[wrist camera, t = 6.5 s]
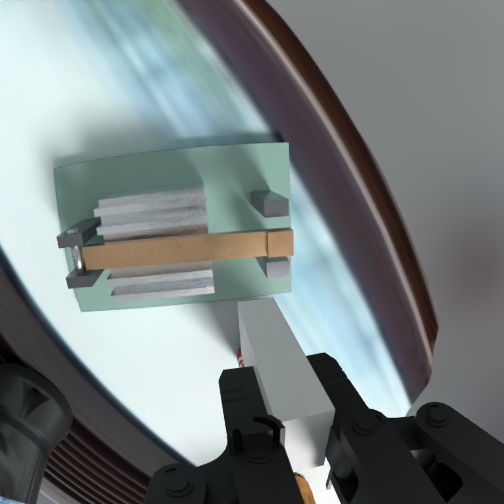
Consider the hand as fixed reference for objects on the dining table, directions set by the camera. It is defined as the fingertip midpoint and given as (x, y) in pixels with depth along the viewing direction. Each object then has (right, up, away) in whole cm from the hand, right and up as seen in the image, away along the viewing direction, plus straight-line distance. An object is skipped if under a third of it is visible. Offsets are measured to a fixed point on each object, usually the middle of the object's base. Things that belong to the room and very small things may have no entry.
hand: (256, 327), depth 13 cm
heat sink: (-9, +5, +17) cm, 20 cm away
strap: (-6, +4, +12) cm, 13 cm away
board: (-8, +6, +18) cm, 21 cm away
